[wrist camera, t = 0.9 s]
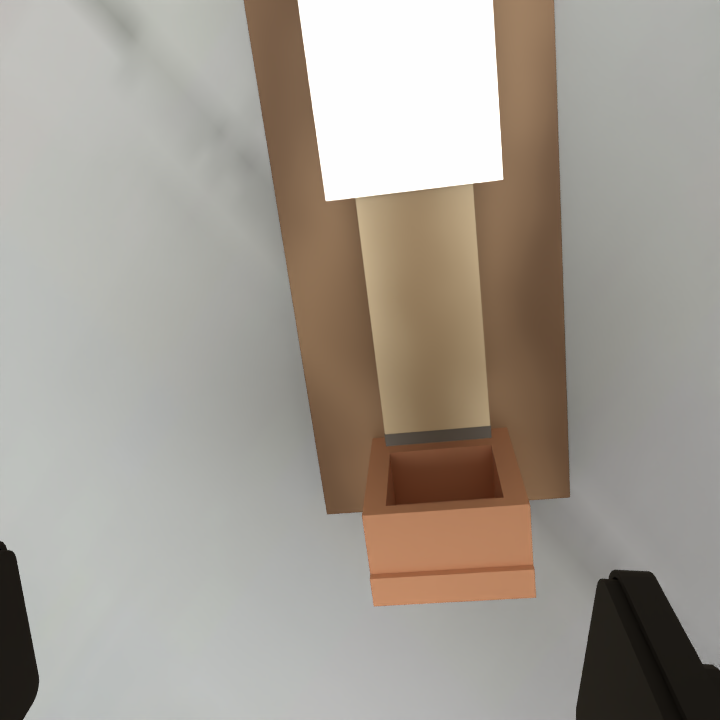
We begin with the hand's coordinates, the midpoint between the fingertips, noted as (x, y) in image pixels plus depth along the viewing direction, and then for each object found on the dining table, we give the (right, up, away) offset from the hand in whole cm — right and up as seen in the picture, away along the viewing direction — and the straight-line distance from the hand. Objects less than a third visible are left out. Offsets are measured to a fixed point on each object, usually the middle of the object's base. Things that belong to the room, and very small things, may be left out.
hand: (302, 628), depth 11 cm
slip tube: (+3, +11, +16) cm, 20 cm away
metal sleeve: (+3, +16, +17) cm, 23 cm away
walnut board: (+4, +10, +20) cm, 23 cm away
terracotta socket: (+5, -1, +22) cm, 23 cm away
